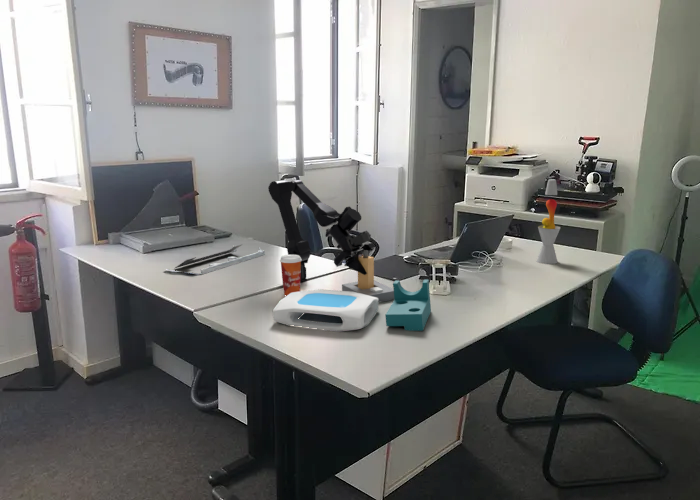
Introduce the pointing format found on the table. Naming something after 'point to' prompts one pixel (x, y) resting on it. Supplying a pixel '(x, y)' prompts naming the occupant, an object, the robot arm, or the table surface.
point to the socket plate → (372, 290)
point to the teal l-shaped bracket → (409, 307)
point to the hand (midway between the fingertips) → (368, 272)
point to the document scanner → (327, 309)
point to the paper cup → (291, 273)
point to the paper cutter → (218, 266)
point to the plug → (368, 265)
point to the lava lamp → (549, 228)
